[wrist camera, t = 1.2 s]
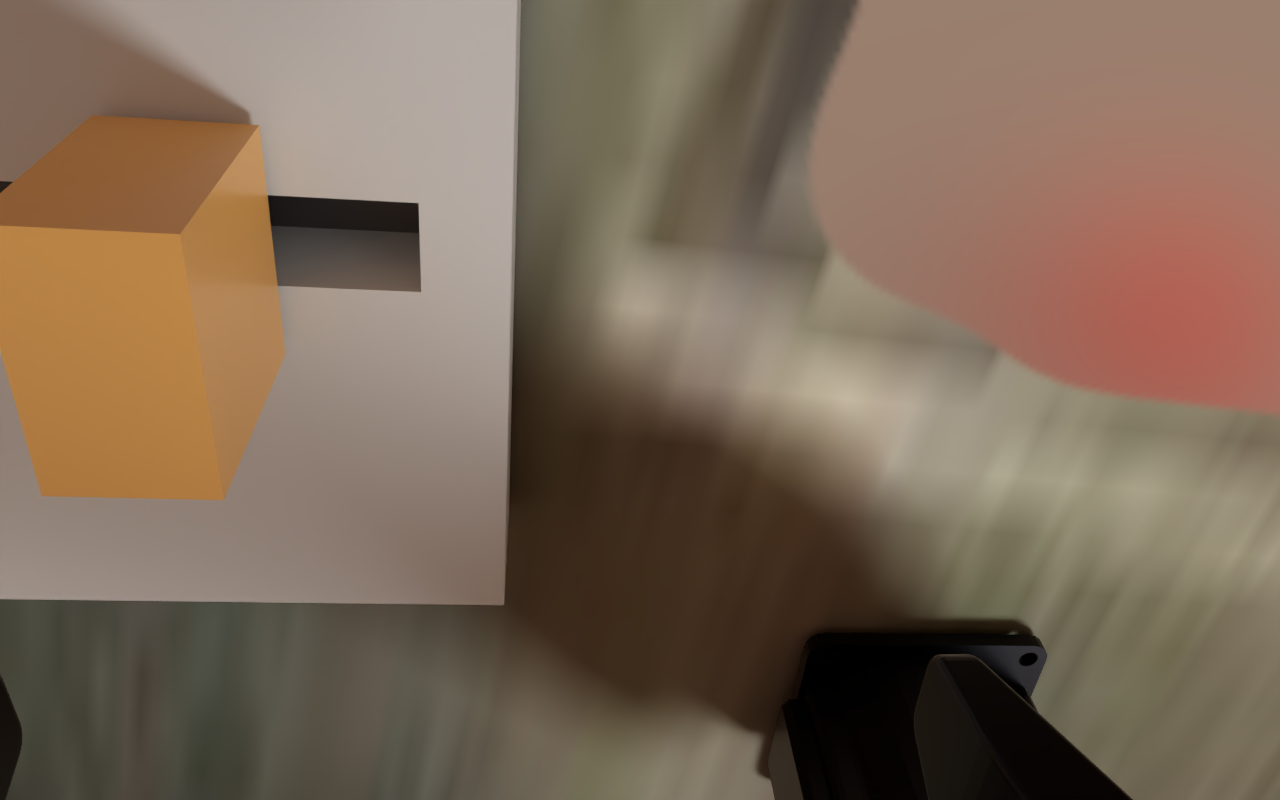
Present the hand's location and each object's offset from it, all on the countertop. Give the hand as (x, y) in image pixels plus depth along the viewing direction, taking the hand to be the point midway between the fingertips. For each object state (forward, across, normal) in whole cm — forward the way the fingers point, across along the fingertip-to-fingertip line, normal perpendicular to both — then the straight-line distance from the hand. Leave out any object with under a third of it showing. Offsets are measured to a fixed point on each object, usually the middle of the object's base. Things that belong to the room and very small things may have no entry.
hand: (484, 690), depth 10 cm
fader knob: (+12, +5, -1) cm, 13 cm away
